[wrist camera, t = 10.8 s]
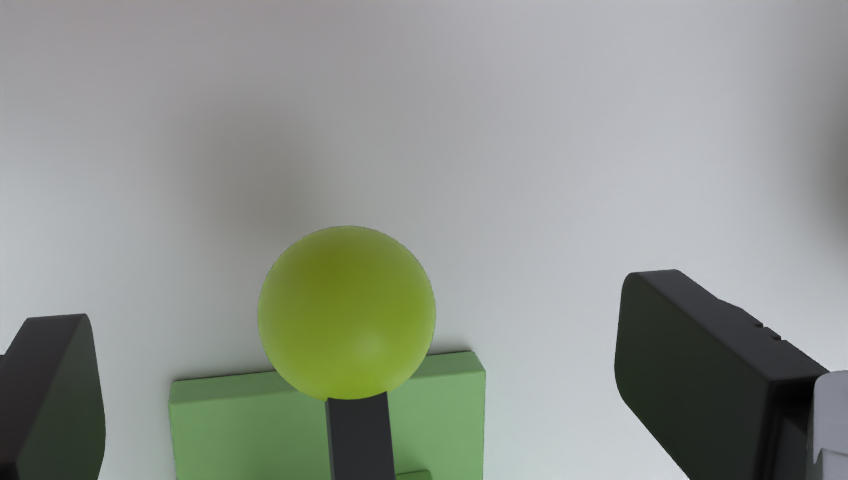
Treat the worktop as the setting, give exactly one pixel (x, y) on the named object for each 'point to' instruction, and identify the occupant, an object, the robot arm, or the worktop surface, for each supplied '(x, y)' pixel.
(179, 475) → the green crank stand
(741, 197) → the worktop surface
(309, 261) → the switch lever
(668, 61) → the worktop surface
